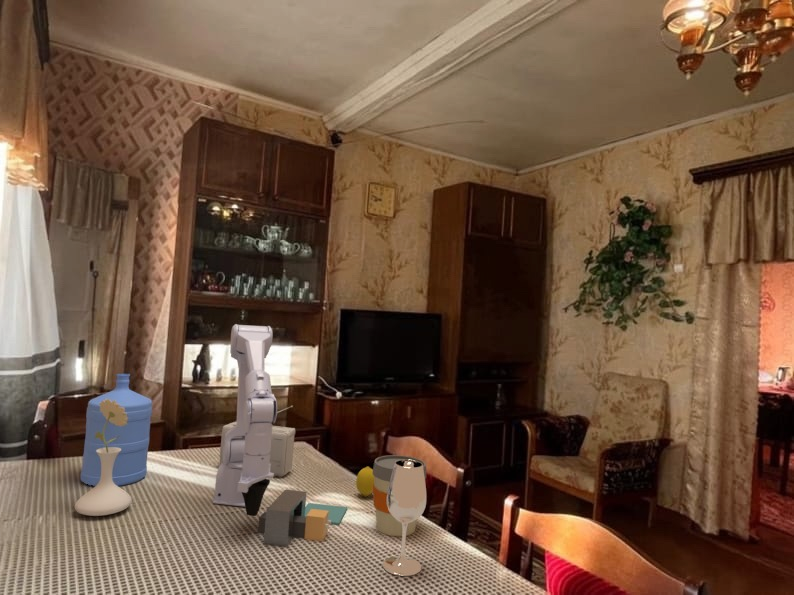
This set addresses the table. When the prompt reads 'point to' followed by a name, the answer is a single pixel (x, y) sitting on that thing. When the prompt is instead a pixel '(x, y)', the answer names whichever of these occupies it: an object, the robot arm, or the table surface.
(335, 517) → the mat
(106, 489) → the flower in vase
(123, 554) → the table surface
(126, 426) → the water jug
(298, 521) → the push rod
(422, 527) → the table surface
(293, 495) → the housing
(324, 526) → the plug
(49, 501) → the table surface
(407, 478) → the wineglass
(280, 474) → the stereo radio cassette player
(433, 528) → the table surface
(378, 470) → the reusable coffee cup
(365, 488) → the lemon
